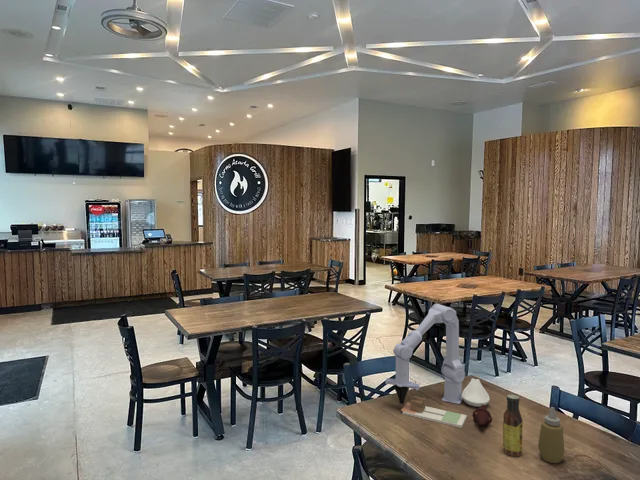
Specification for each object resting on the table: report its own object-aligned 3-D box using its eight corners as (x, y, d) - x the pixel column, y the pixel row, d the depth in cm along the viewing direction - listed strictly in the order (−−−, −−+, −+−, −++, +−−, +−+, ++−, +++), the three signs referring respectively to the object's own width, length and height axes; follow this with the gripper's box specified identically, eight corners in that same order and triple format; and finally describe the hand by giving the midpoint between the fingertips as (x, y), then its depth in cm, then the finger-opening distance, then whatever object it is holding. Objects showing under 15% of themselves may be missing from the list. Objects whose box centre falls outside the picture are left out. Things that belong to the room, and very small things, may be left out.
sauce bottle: (524, 458, 148) (525, 401, 147) (504, 456, 149) (506, 400, 148) (519, 448, 154) (520, 393, 153) (500, 446, 155) (502, 392, 154)
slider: (413, 405, 186) (414, 396, 185) (425, 407, 183) (425, 398, 183) (410, 409, 181) (410, 400, 181) (421, 412, 179) (422, 403, 179)
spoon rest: (490, 412, 183) (490, 395, 183) (461, 408, 187) (461, 392, 186) (486, 390, 206) (487, 375, 205) (461, 387, 209) (461, 373, 209)
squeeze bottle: (540, 449, 153) (542, 400, 152) (566, 458, 148) (568, 406, 147) (535, 459, 147) (536, 408, 146) (561, 468, 142) (563, 415, 141)
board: (407, 404, 190) (407, 401, 190) (466, 417, 177) (466, 414, 177) (400, 413, 181) (400, 410, 181) (461, 428, 169) (461, 425, 169)
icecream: (494, 419, 163) (493, 406, 177) (474, 411, 165) (475, 399, 179) (489, 436, 163) (489, 422, 177) (469, 428, 166) (470, 414, 180)
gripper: (383, 371, 185) (382, 402, 186) (416, 378, 178) (415, 410, 179) (388, 366, 191) (388, 396, 192) (421, 372, 184) (420, 403, 185)
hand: (401, 402), depth 186 cm, fingers closed
